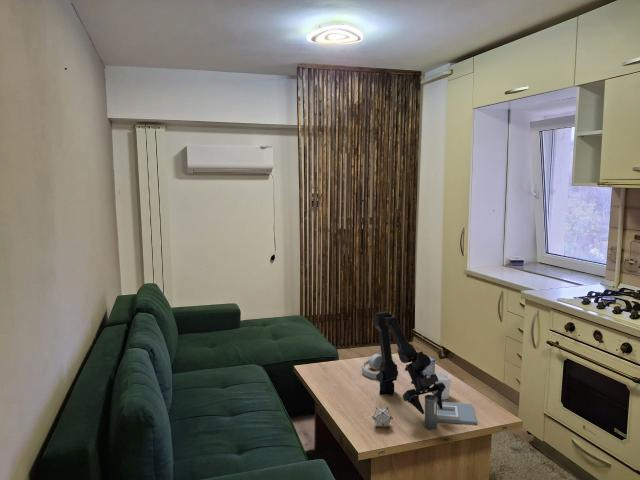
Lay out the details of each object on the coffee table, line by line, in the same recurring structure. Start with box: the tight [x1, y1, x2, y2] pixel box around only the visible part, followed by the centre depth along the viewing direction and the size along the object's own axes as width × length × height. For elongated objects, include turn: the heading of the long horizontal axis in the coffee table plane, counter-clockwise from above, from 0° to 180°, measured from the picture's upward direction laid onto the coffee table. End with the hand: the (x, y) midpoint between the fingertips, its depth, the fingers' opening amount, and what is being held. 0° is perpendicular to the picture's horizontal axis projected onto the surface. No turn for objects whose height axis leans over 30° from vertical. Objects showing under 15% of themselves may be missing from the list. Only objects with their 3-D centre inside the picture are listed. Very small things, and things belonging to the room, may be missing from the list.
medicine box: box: [422, 356, 436, 378], centre depth 250 cm, size 8×4×9 cm, turn 25°
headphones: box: [361, 353, 396, 381], centre depth 252 cm, size 18×8×20 cm
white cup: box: [435, 372, 451, 401], centre depth 223 cm, size 8×8×10 cm
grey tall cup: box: [424, 394, 438, 431], centre depth 196 cm, size 5×5×13 cm
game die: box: [371, 406, 394, 429], centre depth 197 cm, size 9×8×10 cm
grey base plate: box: [437, 401, 478, 425], centre depth 207 cm, size 18×16×3 cm
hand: (432, 411), depth 195 cm, fingers open, 9 cm apart
